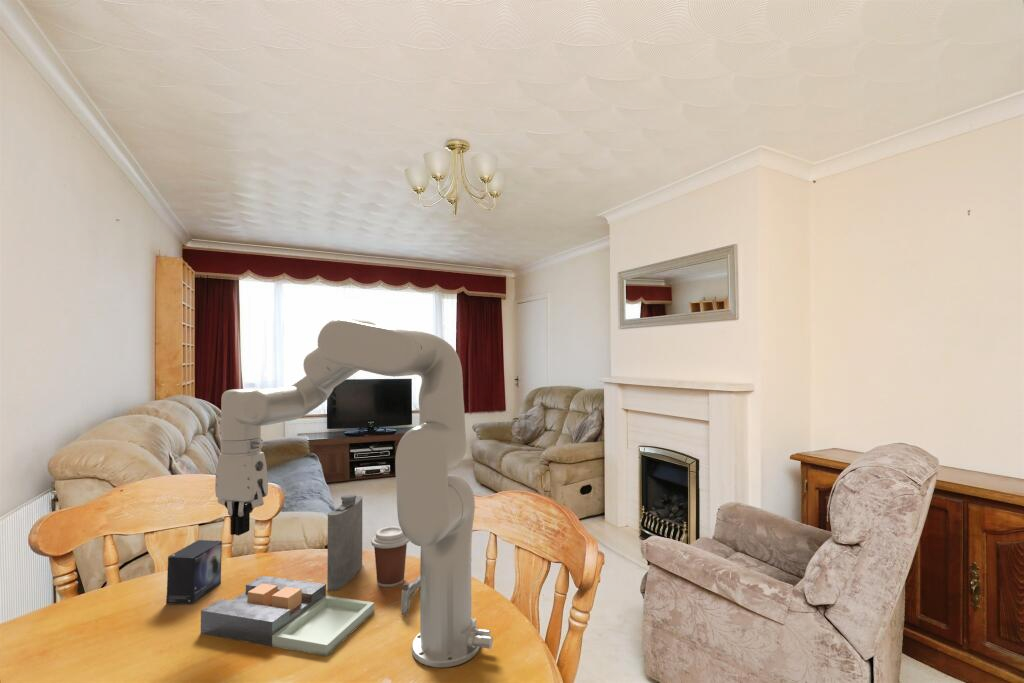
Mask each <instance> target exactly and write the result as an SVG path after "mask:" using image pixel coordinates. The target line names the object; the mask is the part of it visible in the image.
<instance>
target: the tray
mask: <svg viewBox="0 0 1024 683" xmlns="http://www.w3.org/2000/svg"><path fill="white" fill-rule="evenodd" d="M372 613H373V614H374V613H375V601H374V602H372V601H366V600H359V599H352V598H344V597H338V596H331V595H326V596H325V597H323V598H322V599H321V600H319V601H318V602H317V603H315V604H314V605H313V606H311V607H310V608H309V609H307V610H306V611H305V612H303V613H302V614H301V615H299V616H298V617H297V618H295V619H294V620H293V621H291V622H290V623H289V624H287V625H286V626H284V627H283V628H282V629H280V630H279V631H278V632H276V633H275V634H274V635H272V646H271V647H273V648H279V649H285V650H291V651H295V650H296V651H297V652H301V651H303V653H306V652H308V653H307V654H313V655H317V654H318V655H319V656H323V655H324V657H328V656H329V655H330V654H331V653H332V652H333V651H334V650H335V649H336V648H338V645H339V644H340V643H341V642H342V641H343V640H344V639H345V638H346V637H347V636H348V635H349V634H350V633H351V632H352V631H353V630H354V629H355V628H357V627H358V626H359V625H360V624H361V623H362V622H363V621H364V620H365V619H366V618H367V617H368V616H370V615H371V614H372ZM373 614H372V615H373ZM372 615H371V616H372ZM371 616H370V617H371ZM368 618H369V617H368ZM368 618H367V619H368ZM367 619H366V620H367ZM366 620H365V621H366ZM365 621H364V622H365ZM364 622H363V623H364ZM363 623H362V624H363ZM362 624H361V625H362ZM361 625H360V626H361ZM360 626H359V627H360ZM359 627H358V628H359ZM358 628H357V629H358ZM353 632H354V631H353ZM353 632H352V633H353ZM352 633H351V634H352ZM351 634H350V635H351ZM350 635H349V636H350ZM349 636H348V637H349ZM348 637H347V638H348ZM347 638H346V639H347ZM346 639H345V640H346ZM345 640H344V641H345ZM344 641H343V642H344ZM343 642H342V643H343ZM342 643H341V644H342ZM339 646H340V645H339ZM296 651H295V652H296Z"/></svg>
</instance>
